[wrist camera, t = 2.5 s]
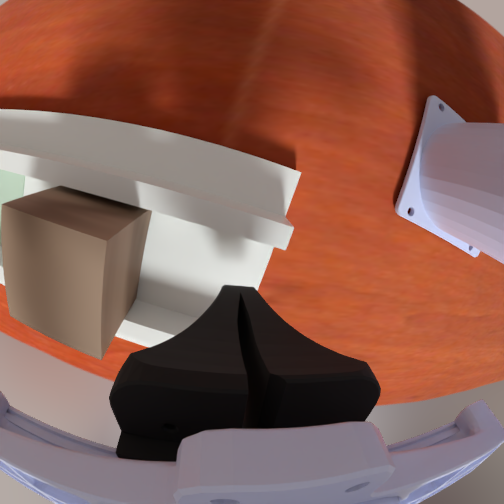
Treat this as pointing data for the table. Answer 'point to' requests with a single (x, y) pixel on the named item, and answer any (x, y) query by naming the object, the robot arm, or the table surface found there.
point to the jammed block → (72, 264)
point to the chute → (159, 205)
